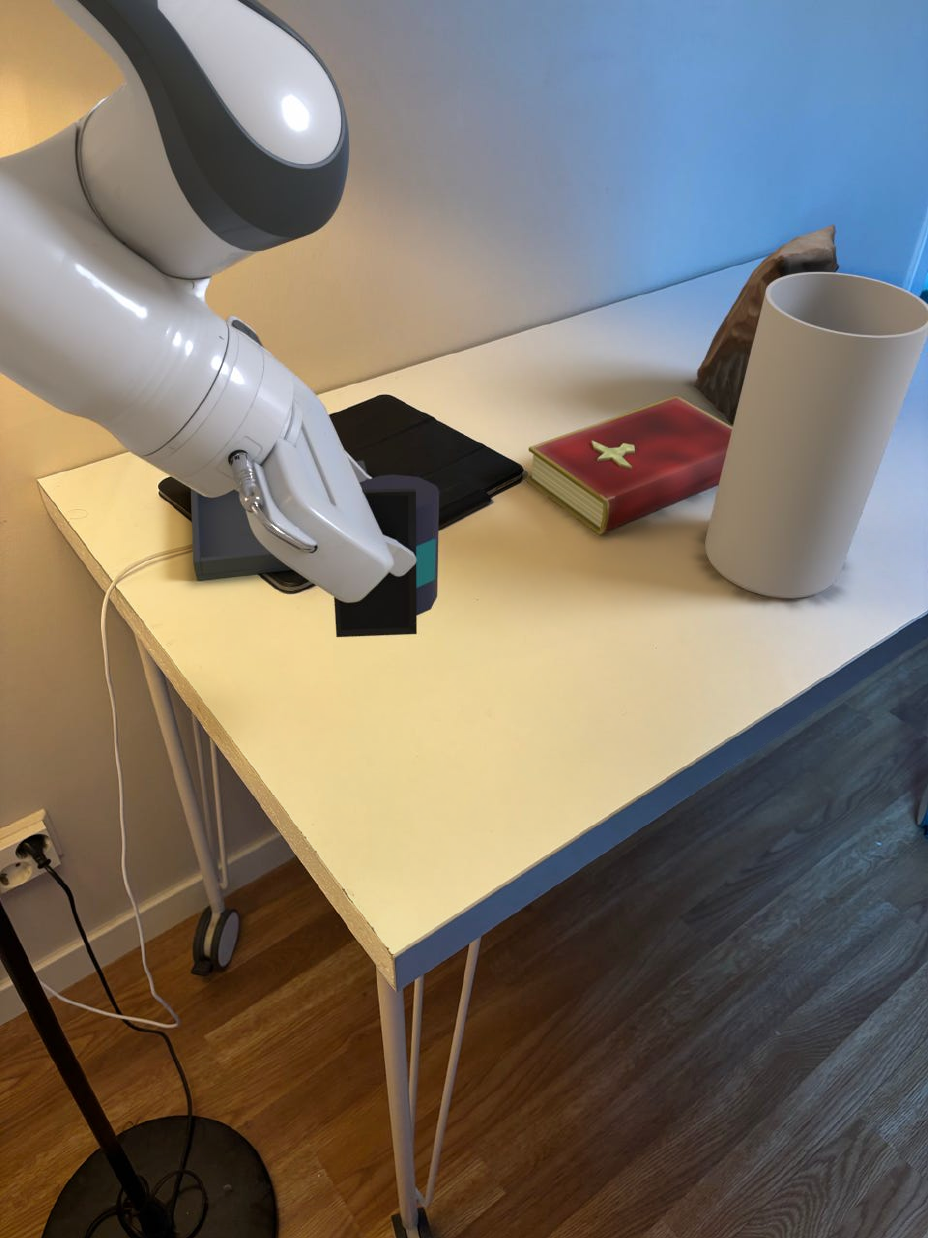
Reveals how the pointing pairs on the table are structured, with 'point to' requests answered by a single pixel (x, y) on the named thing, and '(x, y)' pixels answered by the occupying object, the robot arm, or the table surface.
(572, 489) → the hardcover book
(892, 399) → the cylinder vase
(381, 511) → the speaker
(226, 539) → the shallow rimmed tray
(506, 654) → the table surface
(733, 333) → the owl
